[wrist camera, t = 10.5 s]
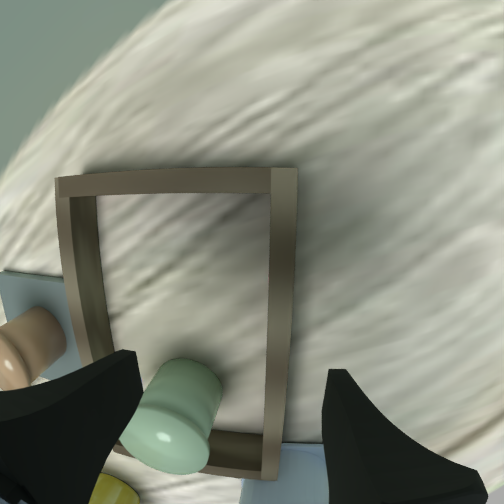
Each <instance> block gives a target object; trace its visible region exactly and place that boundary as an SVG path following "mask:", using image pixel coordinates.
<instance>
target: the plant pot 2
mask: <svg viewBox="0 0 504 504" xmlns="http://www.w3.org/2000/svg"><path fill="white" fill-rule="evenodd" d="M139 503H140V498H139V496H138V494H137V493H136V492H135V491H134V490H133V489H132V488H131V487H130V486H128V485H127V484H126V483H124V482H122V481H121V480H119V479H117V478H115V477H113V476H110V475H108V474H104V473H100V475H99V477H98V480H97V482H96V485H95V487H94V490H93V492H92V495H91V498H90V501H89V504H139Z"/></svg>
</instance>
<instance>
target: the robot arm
mask: <svg viewBox="0 0 504 504" xmlns="http://www.w3.org/2000/svg"><path fill="white" fill-rule="evenodd" d="M143 393H144V392H143V387H142V382H141V377H140V372H139V367H138V361H137V356H136V352H135V351H130V350H124V349H122V350H119V351H116V352H114V353H112V354H110V355H108V356H105V357H103V358H101V359H99V360H97V361H95V362H93V363H91V364H89V365H87V366H85V367H83V368H80V369H78V370H76V371H74V372H71V373H69V374H66V375H64V376H62V377H59V378H57V379H54V380H51V381H48V382H45V383H41V384H38V385H34V386H29V387H25V388H20V389H15V390H7V391H0V504H89V501H90V498H91V495H92V492H93V490H94V487H95V485H96V482H97V480H98V477H99V475H100V473H101V470H102V468H103V466H104V464H105V461H106V459H107V457H108V456H109V454H110V452H111V450H112V449H113V447H114V446H115V444H116V442H117V441H118V439H119V438H120V436H121V435H122V433H123V431H124V430H125V428H126V427H127V425H128V423H129V422H130V420H131V419H132V417H133V415H134V414H135V412H136V410H137V407H138V405H139V403H140V400H141V398H142V396H143ZM322 439H323V444H295V443H281V452H280V461H279V470H278V479H277V481H264V480H252V479H242V492H241V497H240V502H239V504H486V502H487V499H488V493H487V491H486V488H485V486H484V483H483V481H482V479H481V477H480V475H479V473H478V472H477V470H474V469H471V468H468V467H466V466H463V465H460V464H457V463H455V462H452V461H450V460H448V459H446V458H444V457H442V456H440V455H438V454H436V453H434V452H432V451H430V450H428V449H427V448H425V447H423V446H422V445H420V444H419V443H417V442H416V441H414V440H413V439H411V438H410V437H409V436H407V435H406V434H405V433H403V432H402V431H401V430H400V429H398V428H397V427H396V426H395V425H393V424H392V423H391V422H390V421H389V420H388V419H387V418H386V417H385V416H384V415H383V414H382V413H381V412H380V411H379V410H378V409H377V408H376V407H375V406H374V404H373V403H372V402H371V401H370V400H369V399H368V397H367V396H366V395H365V394H364V392H363V391H362V390H361V389H360V387H359V386H358V385H357V383H356V382H355V381H354V379H353V378H352V377H351V375H350V374H349V373H348V371H347V370H346V369H329V370H328V377H327V383H326V389H325V395H324V401H323V407H322Z"/></svg>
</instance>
